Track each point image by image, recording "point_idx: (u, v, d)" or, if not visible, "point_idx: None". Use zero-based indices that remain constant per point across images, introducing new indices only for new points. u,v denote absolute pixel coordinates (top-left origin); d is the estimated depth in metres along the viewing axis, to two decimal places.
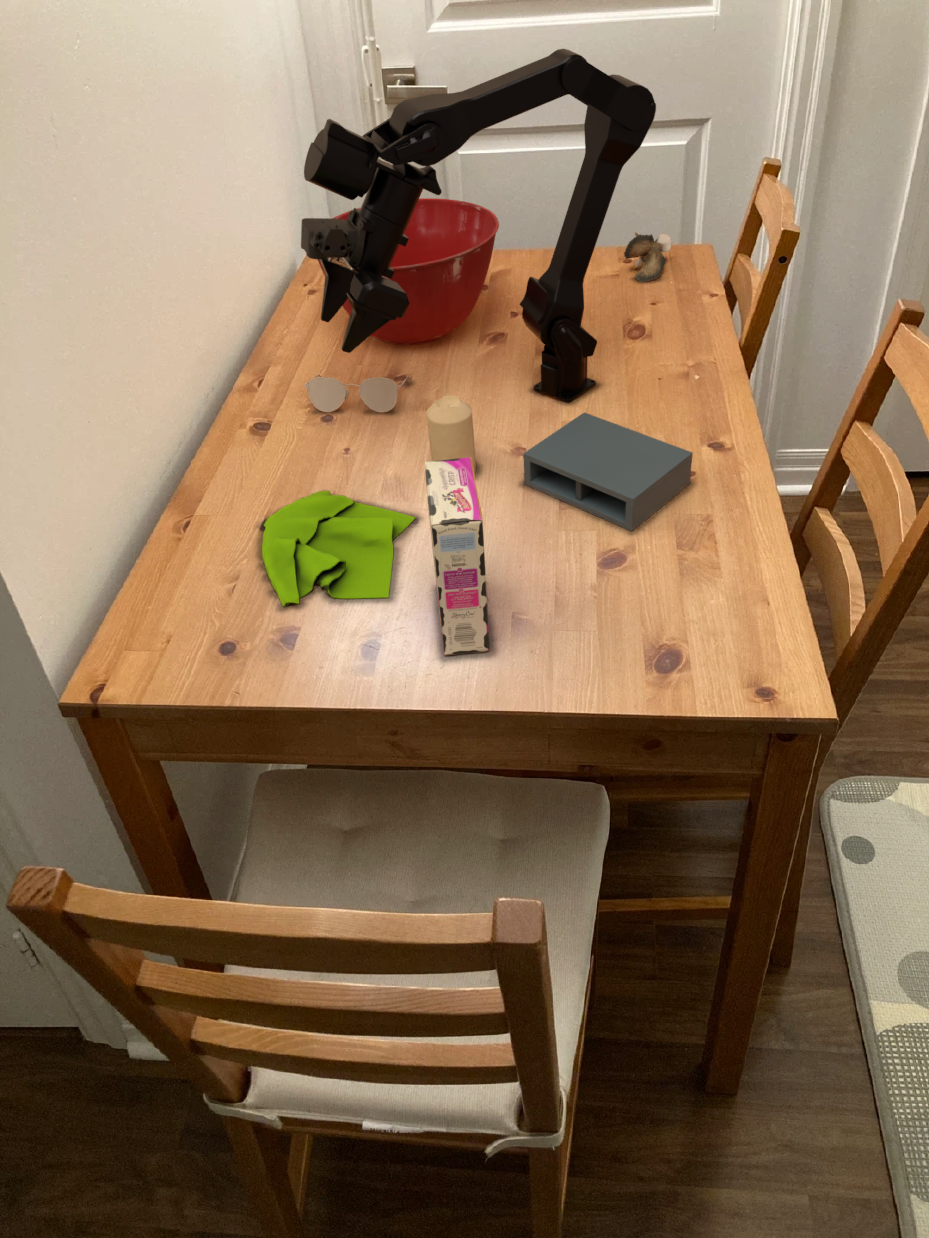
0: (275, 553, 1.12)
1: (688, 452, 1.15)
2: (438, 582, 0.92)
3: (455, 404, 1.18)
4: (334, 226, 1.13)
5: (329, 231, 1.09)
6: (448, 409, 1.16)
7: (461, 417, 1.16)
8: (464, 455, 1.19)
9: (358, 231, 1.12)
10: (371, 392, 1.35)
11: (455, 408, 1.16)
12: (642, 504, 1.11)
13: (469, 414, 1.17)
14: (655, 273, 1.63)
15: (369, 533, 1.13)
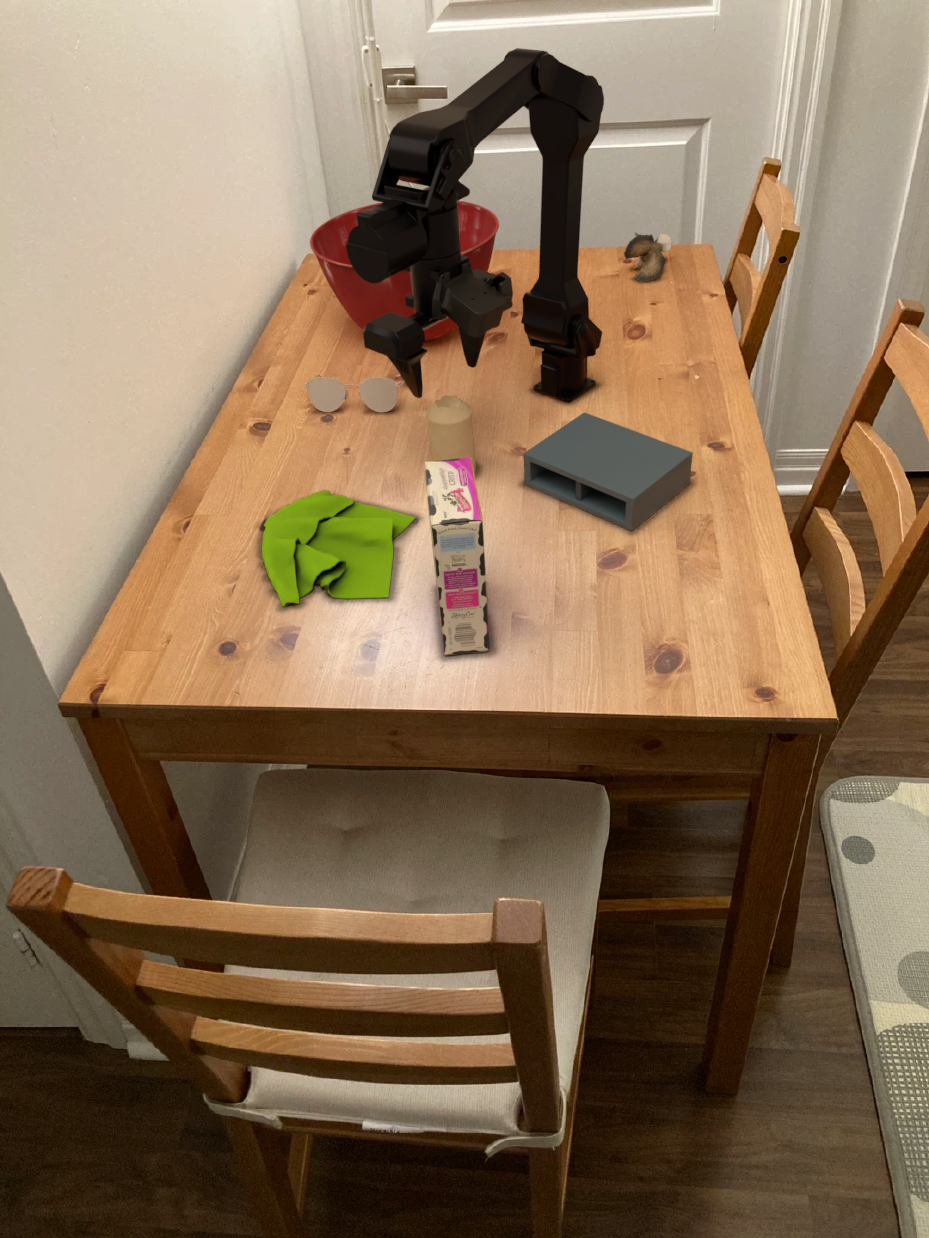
0: (275, 553, 1.12)
1: (688, 452, 1.15)
2: (438, 582, 0.92)
3: (455, 404, 1.18)
4: (475, 289, 1.05)
5: None
6: (448, 409, 1.16)
7: (461, 417, 1.16)
8: (464, 455, 1.19)
9: (470, 272, 1.06)
10: (371, 392, 1.35)
11: (455, 408, 1.16)
12: (642, 504, 1.11)
13: (469, 414, 1.17)
14: (655, 273, 1.63)
15: (369, 533, 1.13)
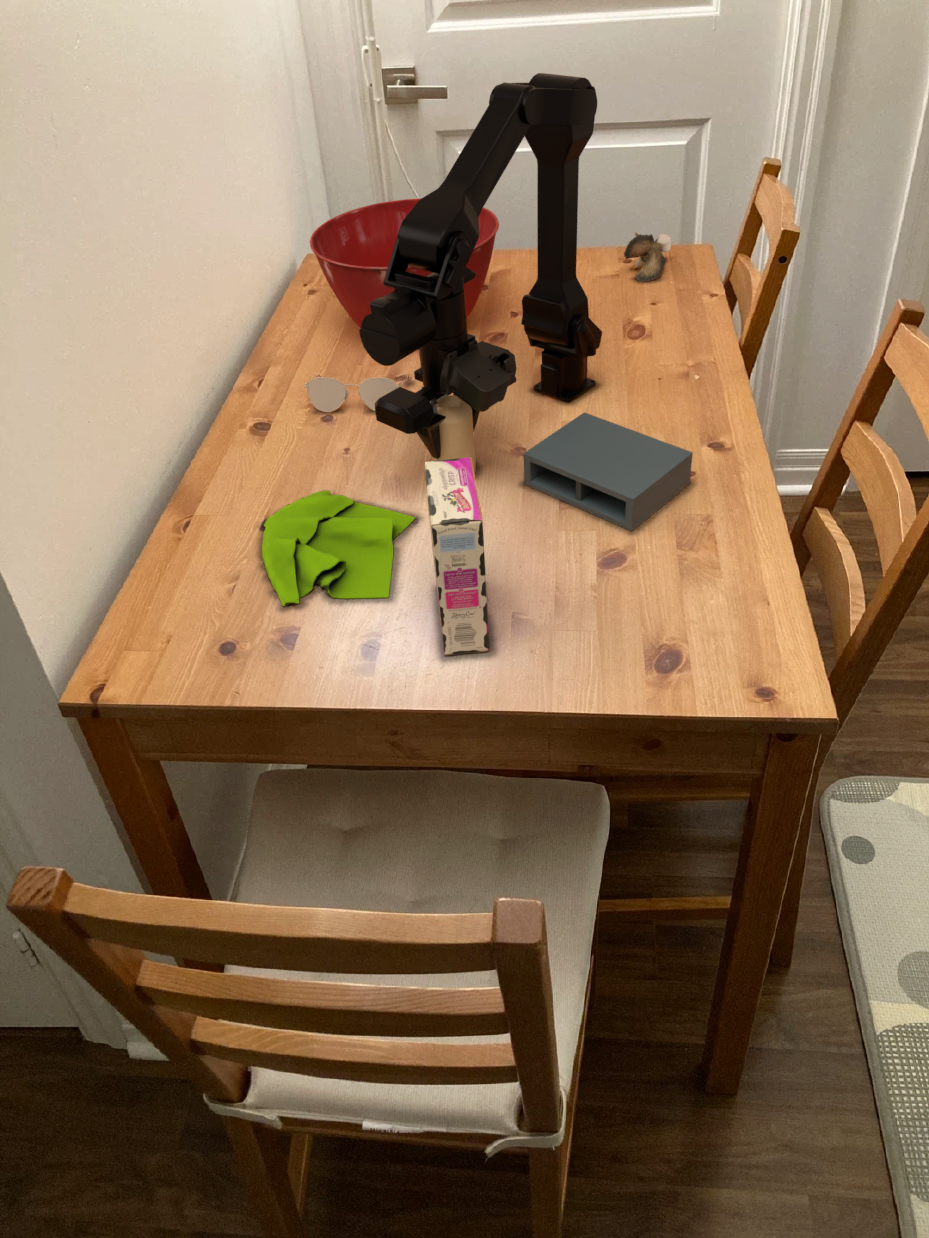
0: (275, 553, 1.12)
1: (688, 452, 1.15)
2: (438, 582, 0.92)
3: (455, 404, 1.18)
4: (481, 366, 1.11)
5: (514, 358, 1.11)
6: (448, 409, 1.16)
7: (461, 417, 1.16)
8: (464, 455, 1.20)
9: (475, 349, 1.12)
10: (371, 392, 1.35)
11: (455, 408, 1.16)
12: (642, 504, 1.11)
13: (469, 414, 1.17)
14: (655, 273, 1.63)
15: (369, 533, 1.13)
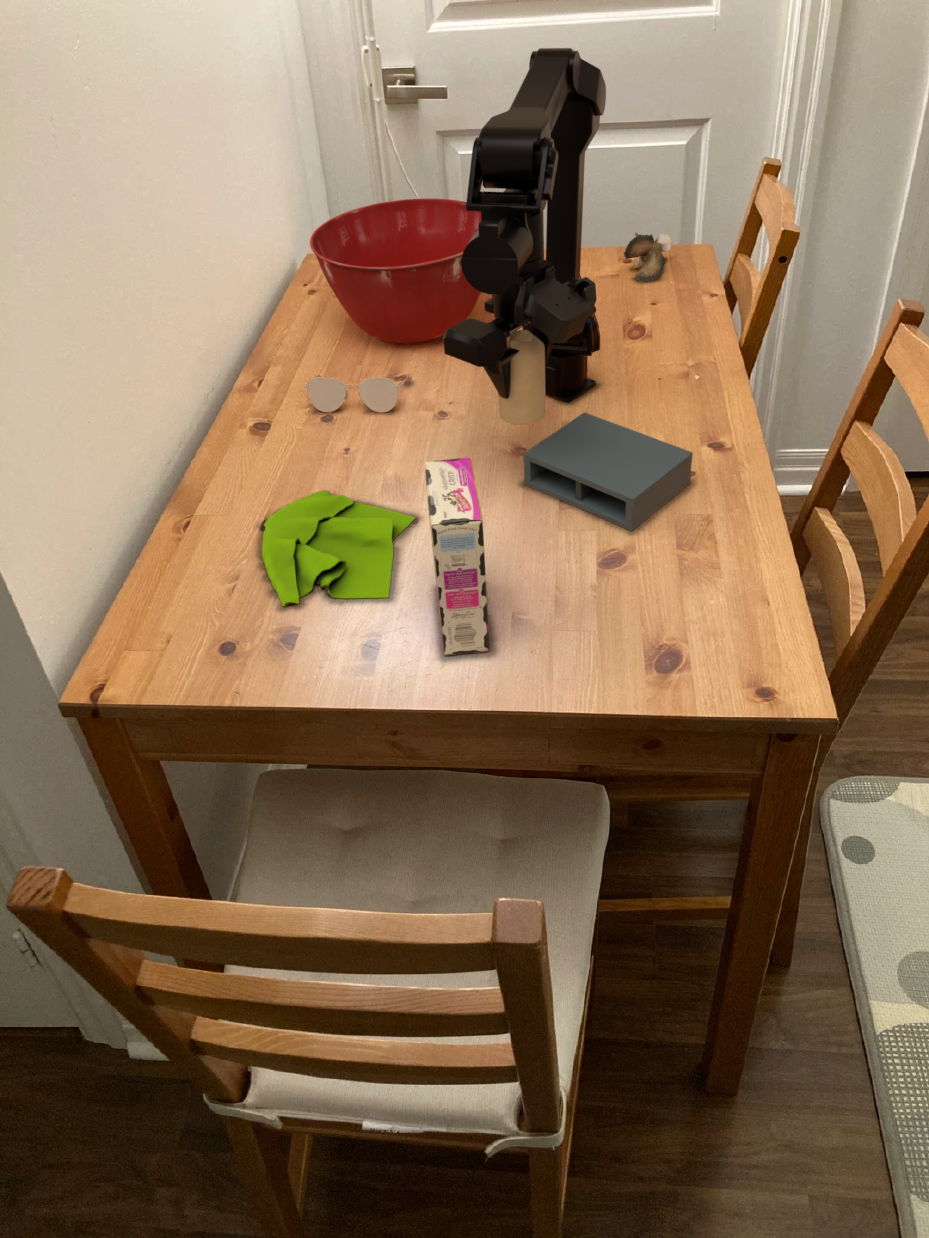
0: (275, 553, 1.12)
1: (688, 452, 1.15)
2: (438, 582, 0.92)
3: (527, 339, 1.10)
4: (559, 295, 1.02)
5: (595, 286, 1.03)
6: (520, 344, 1.08)
7: (534, 352, 1.08)
8: (535, 395, 1.12)
9: (552, 277, 1.04)
10: (371, 392, 1.35)
11: (527, 343, 1.08)
12: (642, 504, 1.11)
13: (542, 350, 1.09)
14: (655, 273, 1.63)
15: (369, 533, 1.13)
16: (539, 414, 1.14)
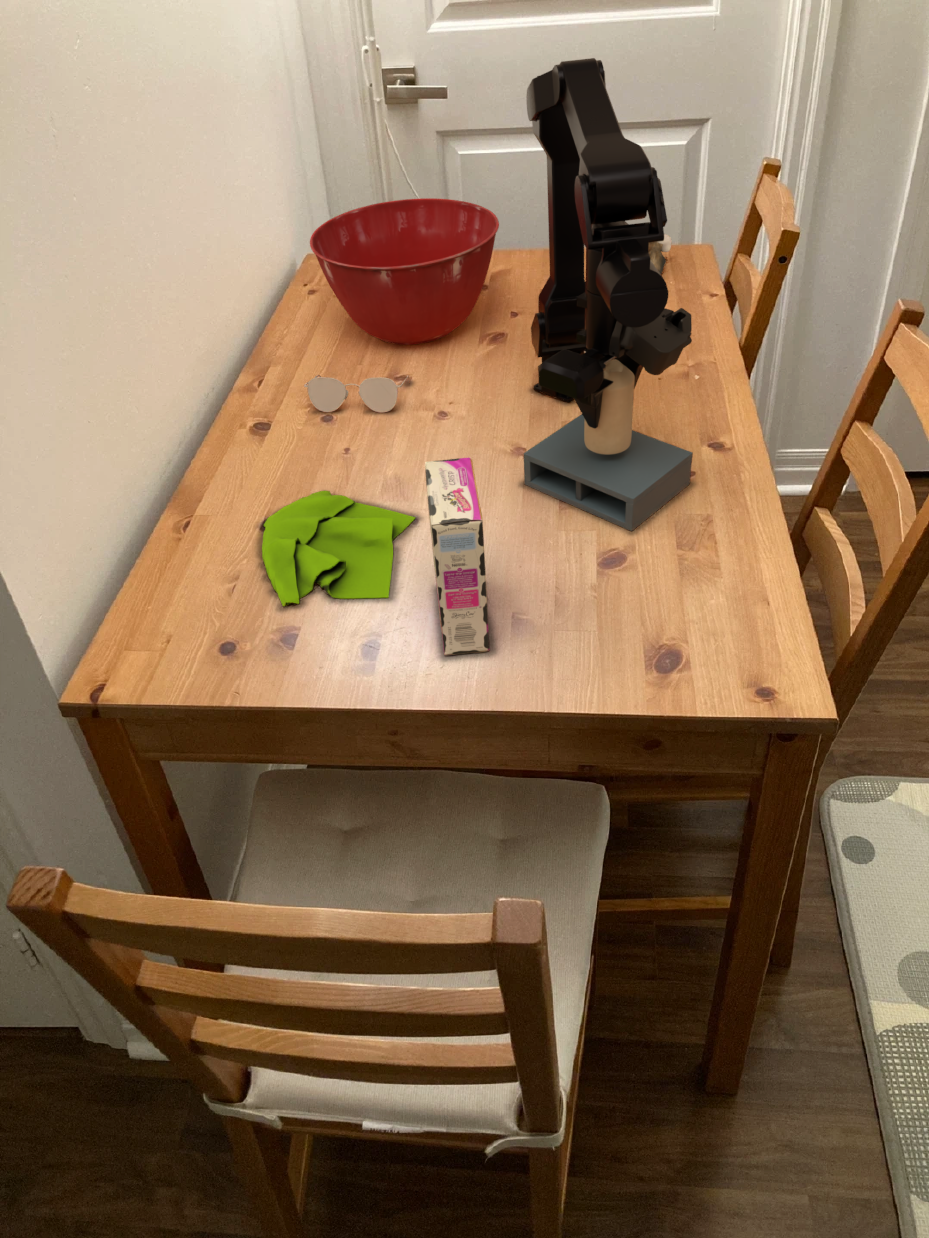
0: (275, 553, 1.12)
1: (688, 452, 1.15)
2: (438, 582, 0.92)
3: (616, 369, 1.10)
4: (656, 326, 1.02)
5: None
6: (612, 374, 1.08)
7: (625, 382, 1.08)
8: (623, 425, 1.11)
9: None
10: (371, 392, 1.35)
11: (619, 373, 1.08)
12: (642, 504, 1.11)
13: (633, 380, 1.09)
14: None
15: (369, 533, 1.13)
16: (626, 443, 1.13)
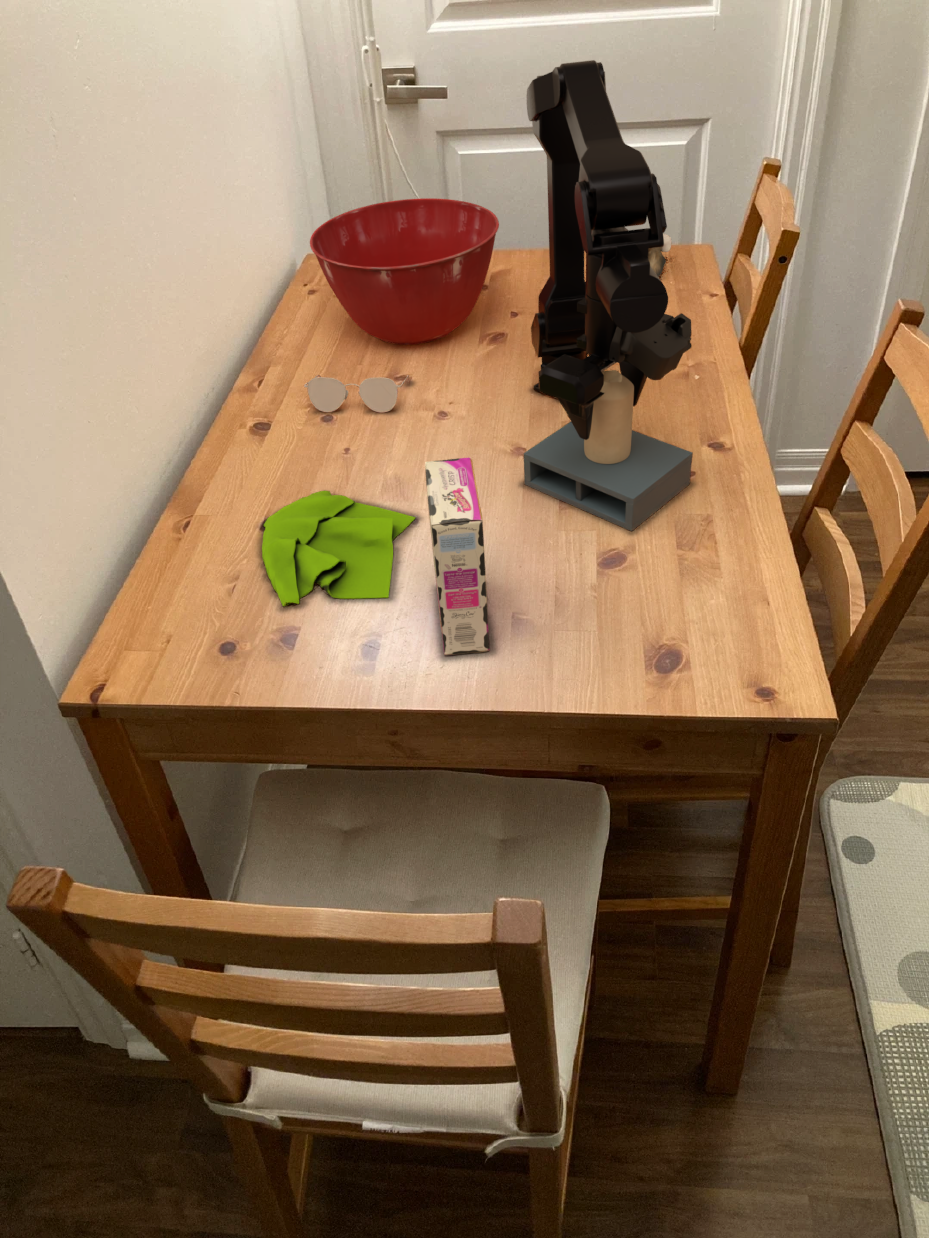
0: (275, 553, 1.12)
1: (688, 452, 1.15)
2: (438, 582, 0.92)
3: (616, 379, 1.10)
4: (656, 331, 1.03)
5: (690, 322, 1.03)
6: (611, 384, 1.09)
7: (625, 393, 1.09)
8: (623, 435, 1.12)
9: None
10: (371, 392, 1.35)
11: (618, 383, 1.09)
12: (642, 504, 1.11)
13: (632, 390, 1.10)
14: None
15: (369, 533, 1.13)
16: (626, 452, 1.14)
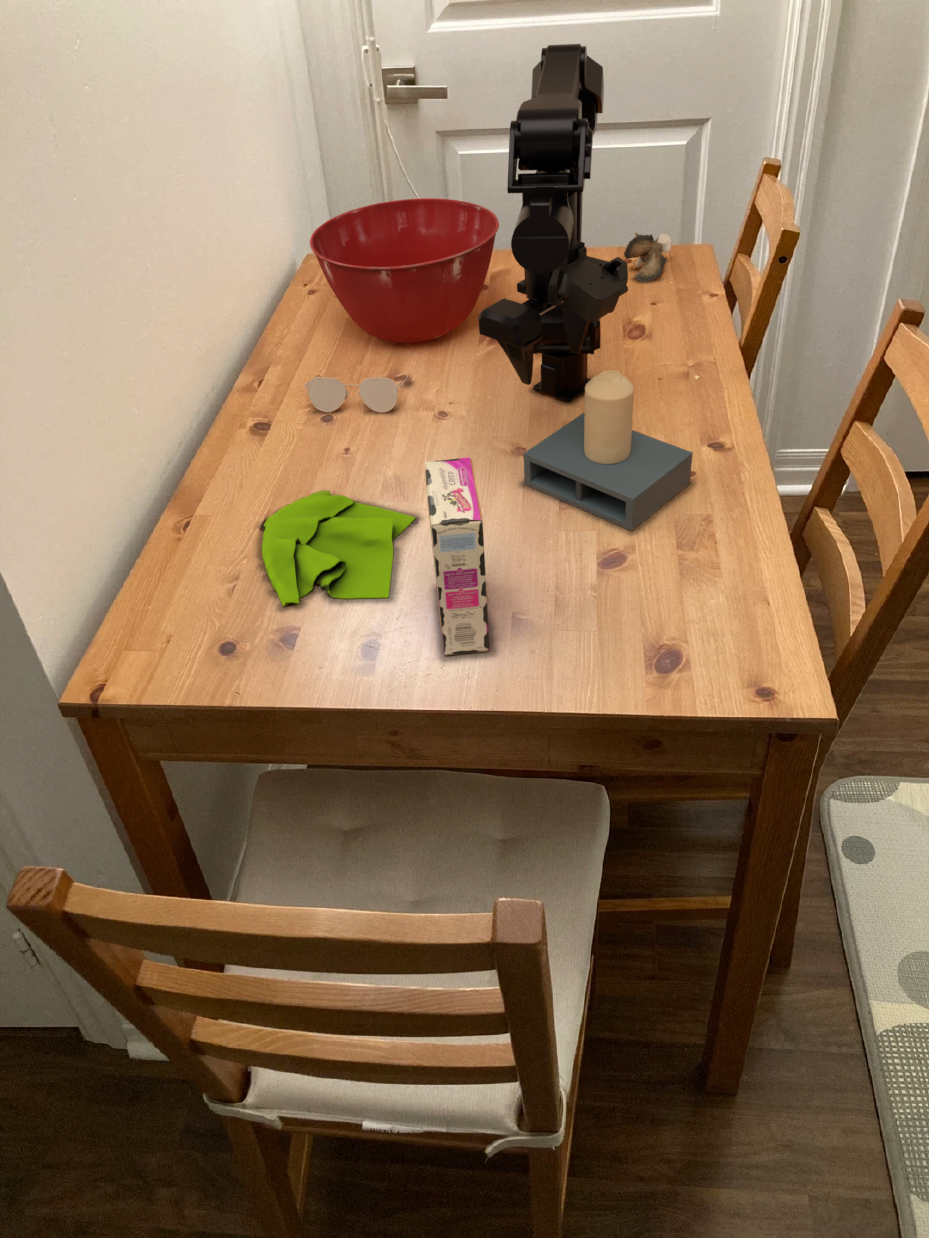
0: (275, 553, 1.12)
1: (688, 452, 1.15)
2: (438, 582, 0.92)
3: (616, 379, 1.10)
4: (592, 274, 1.04)
5: (626, 266, 1.05)
6: (611, 384, 1.09)
7: (625, 392, 1.09)
8: (623, 435, 1.12)
9: (585, 257, 1.06)
10: (371, 392, 1.35)
11: (618, 383, 1.09)
12: (642, 504, 1.11)
13: (632, 390, 1.10)
14: (655, 273, 1.63)
15: (369, 533, 1.13)
16: (626, 452, 1.14)
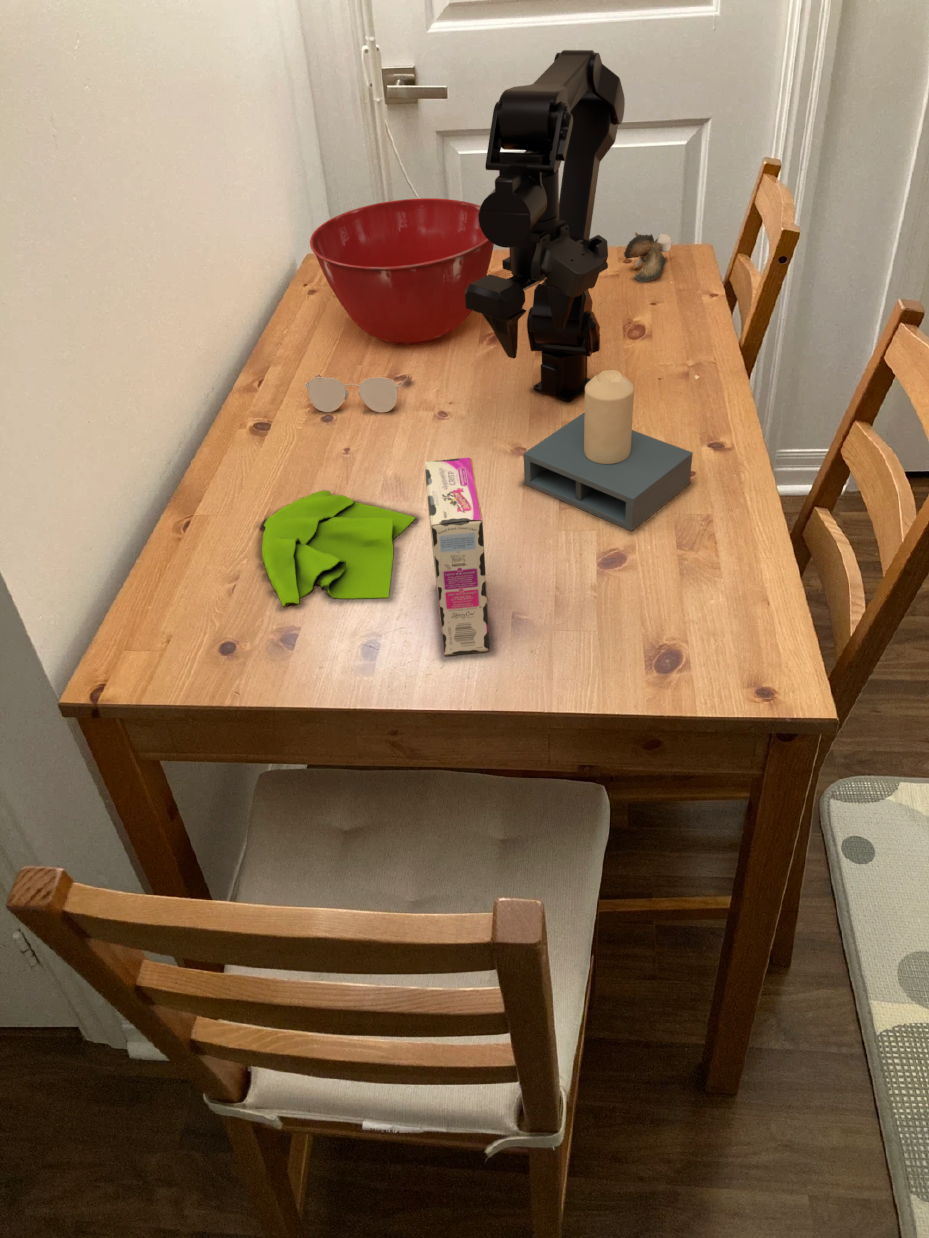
0: (275, 553, 1.12)
1: (688, 452, 1.15)
2: (438, 582, 0.92)
3: (616, 379, 1.10)
4: (573, 251, 1.09)
5: None
6: (611, 384, 1.09)
7: (625, 392, 1.09)
8: (623, 435, 1.12)
9: (567, 235, 1.11)
10: (371, 392, 1.35)
11: (618, 383, 1.09)
12: (642, 504, 1.11)
13: (632, 390, 1.10)
14: (655, 273, 1.63)
15: (369, 533, 1.13)
16: (626, 452, 1.14)
